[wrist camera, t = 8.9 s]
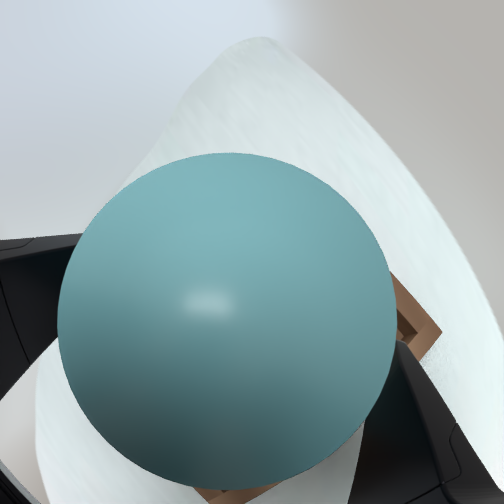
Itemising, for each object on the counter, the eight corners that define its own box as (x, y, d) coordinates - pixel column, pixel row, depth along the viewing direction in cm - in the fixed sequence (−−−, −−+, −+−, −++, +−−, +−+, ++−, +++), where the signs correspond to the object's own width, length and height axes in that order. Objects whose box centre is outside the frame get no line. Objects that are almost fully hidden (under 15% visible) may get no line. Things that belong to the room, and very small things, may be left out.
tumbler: (294, 404, 15) (345, 514, 3) (192, 379, 16) (34, 406, 4) (317, 304, 17) (405, 185, 5) (217, 283, 18) (123, 143, 6)
